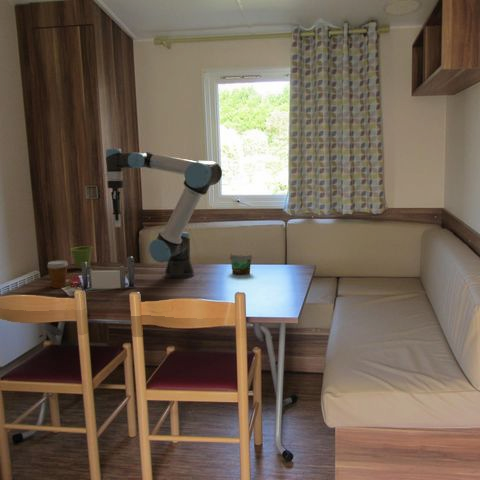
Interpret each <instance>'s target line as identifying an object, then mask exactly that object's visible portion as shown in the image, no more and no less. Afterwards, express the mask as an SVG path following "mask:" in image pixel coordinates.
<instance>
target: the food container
mask: <svg viewBox="0 0 480 480" xmlns="http://www.w3.org/2000/svg"><path fill="white" fill-rule="evenodd" d="M229 259H230V263H231V272H232V274H233V275H235V276H236V275H237V276H245V275H250V273H251V262H252V259H253V256H252V255H251V254H249V255H242V254H239V255H232V253H230V254H229Z"/></svg>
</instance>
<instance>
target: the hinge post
mask: <svg viewBox="0 0 480 480" xmlns="http://www.w3.org/2000/svg"><path fill="white" fill-rule="evenodd" d="M81 264H82V269H81V276H82V287H81V289H82V290H81V291H87V290H86V289H89V290H91V288H89V274H88V268H87V262H81Z"/></svg>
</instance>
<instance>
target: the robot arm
mask: <svg viewBox="0 0 480 480" xmlns="http://www.w3.org/2000/svg"><path fill="white" fill-rule="evenodd" d="M105 163H106V173H105V176H106V177H107V181H106V182H107V189H112V191H111V192H110V194H111V200H112V201H111V202H112V211H113V212H112V215H113V217H114V228H121V226H122V225H121V214H122V212H121V191H120V189H123V187H124V181H123V179H124V177H123V174H124V173H123V169H140V168H146V169H152V170H157V171H158V170H159V171H162V172H169V173H173V174H179V175H183V176H184V180H183V185H184V189H183V191H182V193H181V195H180V197H179V199H178V201H177V203H176V205H175V208H174V209H173V211H172V213H171V215H170V218H169V220H168V221H167V224H166V225H165V227H164V229H161V230H160V231H159V233H158V235H157V236H156V239H153V240H152V241H150V243H149V245H148V251H149V254H150V255H149V256H151V258H152V259H153V260H154V261H155V262H156V263H157V262H158V263H166V267H165V268H164V269H165V270H164V277H165V278H168V279H176V280H177V279H187V278H191V277H194V276H195V271H194V267H193V265H192V262H191V244H190V240H191V239H190V233H189V232H187V231H185V229H186V227H187V225H188V223H189V221H190V219H191V217H192V215H193V213H194V211H195V210H196V208H197V205H198V203H199V201H200V200H201V197H202V196H206V195H207V193H208V190H209V188H210V187H211V186H214V185H216V184H218V183H219V182H220V181H221V179H222V176H223V170H222V168H221V166H220V164H219V163H218V162H215V161H214V160H202V159H201V160H198V161H194V160H190V159H186V158H185V159H184V158H179V157H173V156H169V155H162V154H158V153H157V154H156V153H153V152H150V151H145V152H140V151H139V152H135V151H133V152H122V148H121V149H120V148H107V149H105Z"/></svg>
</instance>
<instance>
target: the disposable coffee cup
mask: <svg viewBox="0 0 480 480" xmlns="http://www.w3.org/2000/svg"><path fill="white" fill-rule="evenodd" d="M68 265H69V263H68V261H67V260H52V261H49V262H47V265H46V266H47V269H48V272H49V277H50V282H51V287H52V288H53V289H61V288H65V287H67V276H68V275H67V274H68V273H67V272H68Z"/></svg>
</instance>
